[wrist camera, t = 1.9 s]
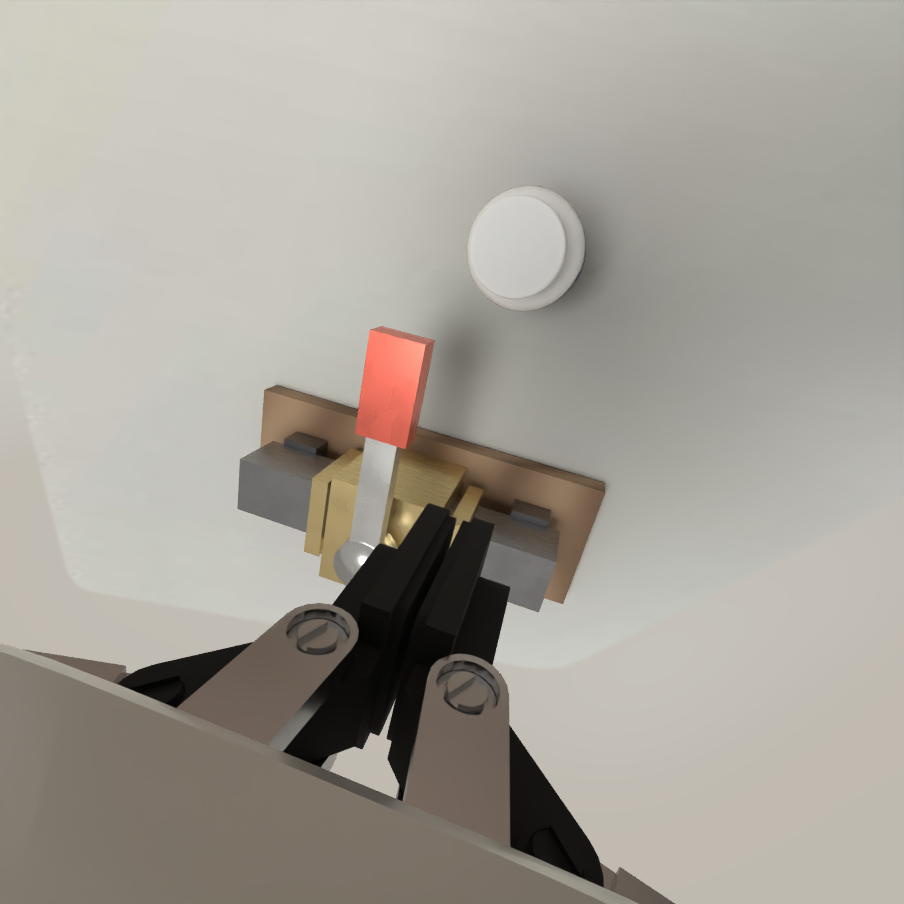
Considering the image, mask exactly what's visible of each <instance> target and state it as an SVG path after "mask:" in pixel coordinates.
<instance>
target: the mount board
mask: <svg viewBox="0 0 904 904" xmlns="http://www.w3.org/2000/svg"><path fill="white" fill-rule="evenodd" d="M357 415H358V409H354V408H351V407H348V406H344V405H341V404H338V403H334V402H331V401H328V400H324V399H321V398H317V397H314V396H311V395H307V394H304V393H301V392H297V391H294V390H291V389H287V388H284V387H281V386H277V385H276V386H273V387H271V388H268V389H266V390H264V403H263V418H262V433H261V447H263V446H265V445H267V444H268V443H270V442H272V441H276V442H279V443H282V444H284V439H285V438H286V437H288V436H290V435H292V434H293V433H295V432H297V431H298V432H302V433H305V434H308V435H311V436H315V437H318V438H321V439H324V440H327V441H328V447H327V455H326V458H329V459H333V460H337V459H338V458H339V457H340V456H342V455H343V454H344V453H346V452H347V451H348V450H350V449H354V450H358V451H361V452H364V446H365V439H366V437H364V436H360V435H357V434H355V429H356V422H357ZM407 449H410V450H414V451H417V452H420V453H423V454H427V455H430V456H433V457H436V458H440V459H443V460H446V461H450V462H453V463H456V464H459V465H463V466H466V467H468V468H467V472H466V476H465V480H464V484H463V488H462V492H461V496H460V500H461V499H462V498H463V496H464V494H465V492H466V490H467V488H468V487H469V485H470V486H473V487H477V488H480V489H483V490H484V492H483V495H482V499H481V503H480V506H481V507H484V508H487V509H491V510H494V511H497V512H500V513H503V514H506V515H511V512H512V509H513V506H514V502H515V499H517V500H520V501H524V502H527V503H530V504H533V505H537V506H540V507H543V508H546V509H549V510H551V514H550V520H549V524H548V527H547V528H551V529H554V530H557V531H560V535H559V544H558V553H557V562H556V565H555V568H554V571H553V574H552V576H551V579H550V582H549V585H548V588H547V590H546V593H545V596H544V598H546V599H549V600H552V601H555V602H558V603H561V604H563V603H564V600H565V597H566V595H567V592H568V589H569V587H570V584H571V581H572V579H573V576H574V574H575V571H576V568H577V566H578V563H579V560H580V558H581V555H582V552H583V550H584V547H585V544H586V542H587V539H588V536H589V534H590V531H591V528H592V526H593V523H594V521H595V518H596V515H597V513H598V510H599V507H600V505H601V502H602V499H603V497H604V494H605V483H603V482H600V481H596V480H593V479H590V478H586V477H583V476H580V475H576V474H573V473H570V472H566V471H563V470H559V469H556V468H553V467H549V466H546V465H543V464H539V463H536V462H533V461H529V460H526V459H523V458H519V457H516V456H512V455H509V454H506V453H502V452H499V451H496V450H492V449H489V448H486V447H482V446H479V445H475V444H472V443H469V442H465V441H462V440H459V439H455V438H452V437H449V436H445V435H442V434H438V433H435V432H432V431H428V430H425V429H422V428H418V427H417V432H416V437H415V440H414V441H413V442H412V443H411V444H410V445H409V446H408V447H407Z"/></svg>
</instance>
